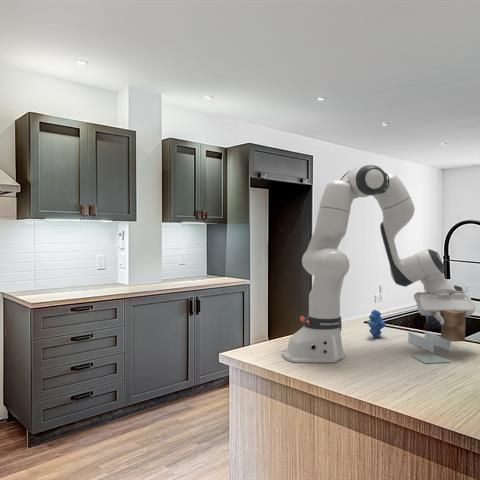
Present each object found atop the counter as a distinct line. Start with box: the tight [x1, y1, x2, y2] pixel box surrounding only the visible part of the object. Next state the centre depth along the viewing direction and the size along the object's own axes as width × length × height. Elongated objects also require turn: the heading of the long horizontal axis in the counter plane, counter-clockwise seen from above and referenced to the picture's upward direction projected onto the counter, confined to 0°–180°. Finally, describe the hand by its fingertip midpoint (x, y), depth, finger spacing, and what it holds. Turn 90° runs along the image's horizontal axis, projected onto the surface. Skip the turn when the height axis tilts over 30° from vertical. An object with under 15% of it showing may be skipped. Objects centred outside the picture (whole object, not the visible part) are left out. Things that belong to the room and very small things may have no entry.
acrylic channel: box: [407, 330, 452, 353], centre depth 169 cm, size 8×16×4 cm, turn 9°
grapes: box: [368, 309, 387, 339], centre depth 182 cm, size 12×7×12 cm, turn 143°
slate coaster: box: [410, 353, 451, 365], centre depth 151 cm, size 9×9×1 cm
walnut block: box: [440, 310, 466, 343], centre depth 153 cm, size 5×6×10 cm
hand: (453, 324), depth 153 cm, fingers closed on walnut block, 5 cm apart
